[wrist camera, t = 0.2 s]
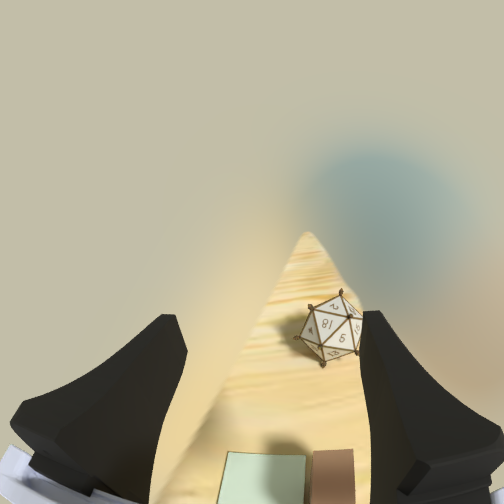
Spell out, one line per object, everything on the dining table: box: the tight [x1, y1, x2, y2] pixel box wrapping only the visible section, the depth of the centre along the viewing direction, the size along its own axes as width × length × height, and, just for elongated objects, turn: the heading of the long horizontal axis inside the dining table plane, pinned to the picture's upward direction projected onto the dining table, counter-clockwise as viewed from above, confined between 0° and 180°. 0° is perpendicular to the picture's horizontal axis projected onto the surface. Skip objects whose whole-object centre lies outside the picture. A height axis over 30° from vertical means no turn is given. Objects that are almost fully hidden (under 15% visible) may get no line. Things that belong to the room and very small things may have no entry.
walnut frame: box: [309, 449, 355, 504], centre depth 19 cm, size 6×3×7 cm, turn 173°
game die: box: [293, 288, 363, 368], centre depth 37 cm, size 9×8×10 cm
